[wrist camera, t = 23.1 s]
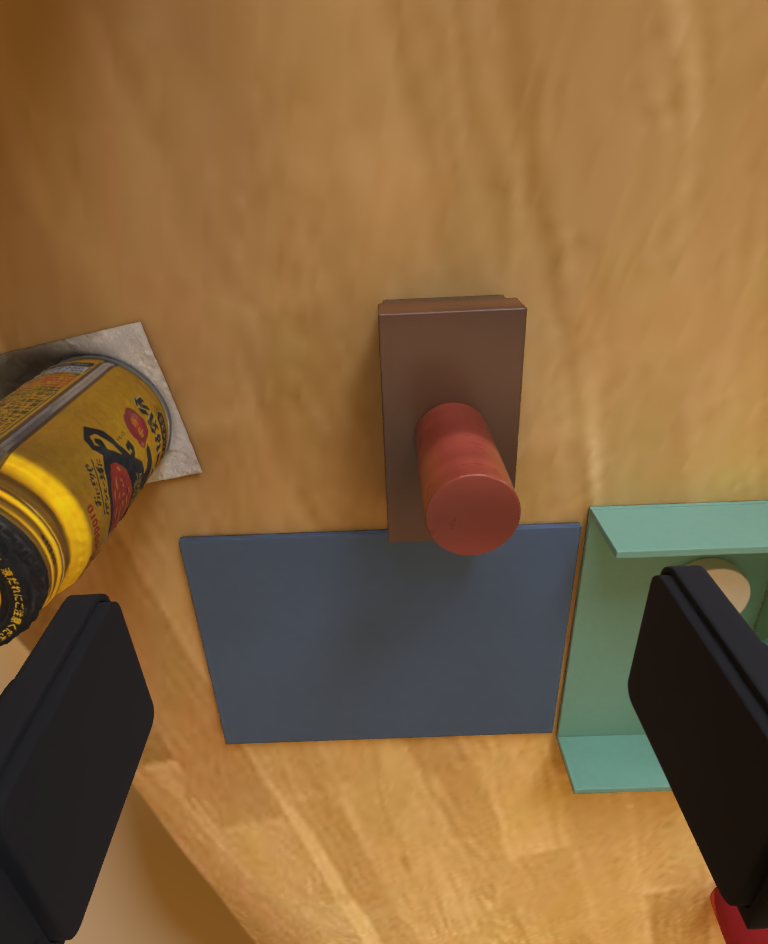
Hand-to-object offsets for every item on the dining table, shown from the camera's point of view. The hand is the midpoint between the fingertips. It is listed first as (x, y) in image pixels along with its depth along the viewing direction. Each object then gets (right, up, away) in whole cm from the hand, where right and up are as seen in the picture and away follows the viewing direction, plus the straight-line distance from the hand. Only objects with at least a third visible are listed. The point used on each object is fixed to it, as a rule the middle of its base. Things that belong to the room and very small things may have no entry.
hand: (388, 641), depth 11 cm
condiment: (-14, +5, +17) cm, 22 cm away
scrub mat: (0, -6, +23) cm, 24 cm away
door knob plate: (+3, +6, +16) cm, 18 cm away
